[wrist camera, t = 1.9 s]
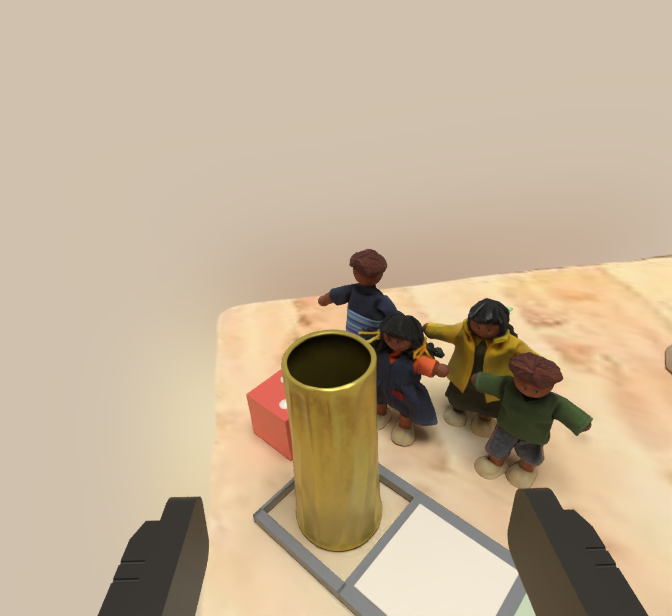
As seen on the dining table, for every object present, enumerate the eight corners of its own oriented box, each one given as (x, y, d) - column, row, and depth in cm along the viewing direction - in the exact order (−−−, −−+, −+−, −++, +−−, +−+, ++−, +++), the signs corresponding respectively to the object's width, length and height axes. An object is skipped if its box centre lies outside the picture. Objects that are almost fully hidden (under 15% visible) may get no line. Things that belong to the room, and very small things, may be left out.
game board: (338, 442, 39) (338, 435, 38) (676, 671, 25) (682, 664, 25) (254, 521, 33) (252, 514, 33) (626, 866, 20) (633, 863, 19)
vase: (283, 538, 32) (254, 385, 24) (313, 466, 37) (297, 317, 29) (370, 563, 31) (369, 408, 23) (390, 484, 35) (395, 332, 27)
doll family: (284, 410, 42) (265, 282, 35) (329, 350, 49) (321, 232, 41) (564, 506, 34) (619, 362, 26) (573, 417, 40) (619, 283, 33)
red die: (292, 402, 43) (287, 364, 40) (329, 427, 40) (326, 388, 38) (254, 432, 40) (246, 393, 38) (290, 460, 38) (285, 421, 35)
